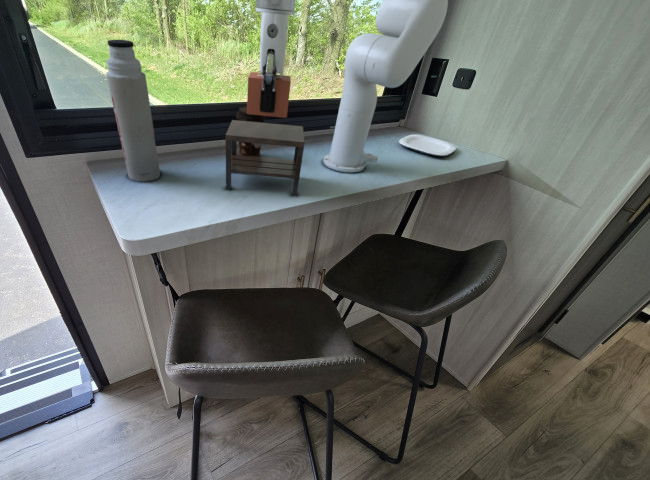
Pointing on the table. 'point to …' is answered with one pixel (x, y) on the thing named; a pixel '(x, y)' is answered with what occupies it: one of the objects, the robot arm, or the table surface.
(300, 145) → the slatted side table
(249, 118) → the coffee cup
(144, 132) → the thermos bottle
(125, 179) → the table surface
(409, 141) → the plate
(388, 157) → the table surface
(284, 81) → the tissue box
